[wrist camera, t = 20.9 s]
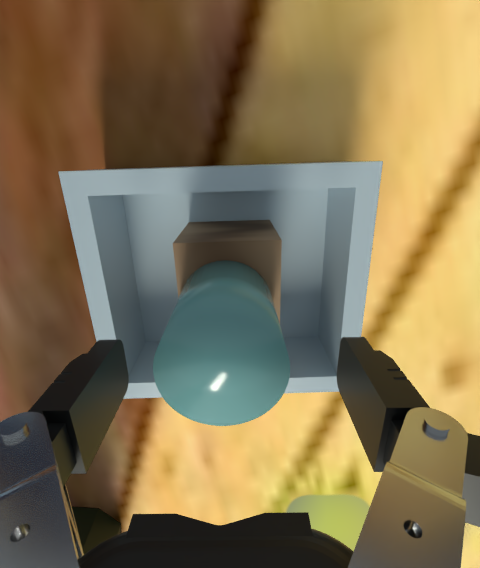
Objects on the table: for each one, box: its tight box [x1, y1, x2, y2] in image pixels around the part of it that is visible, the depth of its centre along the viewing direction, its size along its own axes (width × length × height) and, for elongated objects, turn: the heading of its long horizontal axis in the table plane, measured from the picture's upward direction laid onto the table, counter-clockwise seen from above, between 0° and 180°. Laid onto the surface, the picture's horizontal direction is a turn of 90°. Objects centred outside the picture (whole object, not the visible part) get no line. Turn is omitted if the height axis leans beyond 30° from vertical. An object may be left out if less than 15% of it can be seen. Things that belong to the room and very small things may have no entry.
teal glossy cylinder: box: [153, 260, 290, 426], centre depth 14 cm, size 5×5×6 cm
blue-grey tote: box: [59, 161, 383, 399], centre depth 21 cm, size 16×14×6 cm
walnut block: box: [173, 220, 282, 324], centre depth 20 cm, size 6×7×6 cm
